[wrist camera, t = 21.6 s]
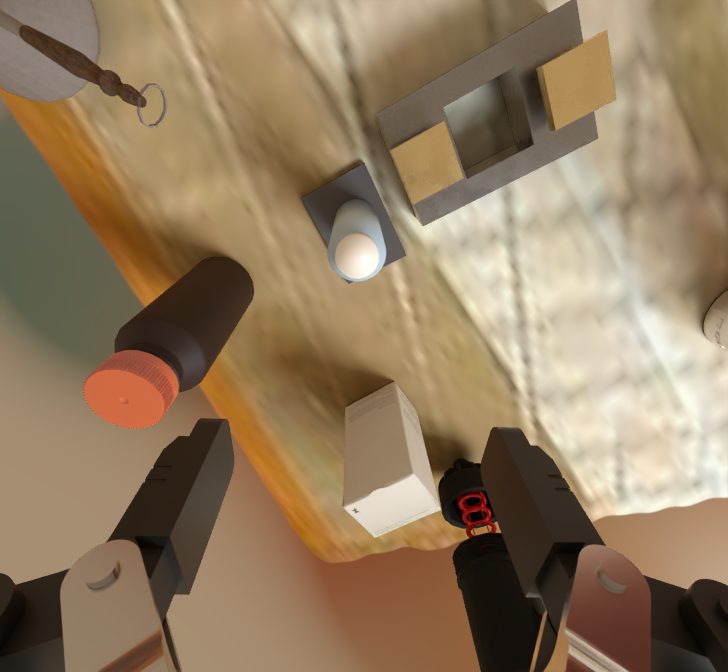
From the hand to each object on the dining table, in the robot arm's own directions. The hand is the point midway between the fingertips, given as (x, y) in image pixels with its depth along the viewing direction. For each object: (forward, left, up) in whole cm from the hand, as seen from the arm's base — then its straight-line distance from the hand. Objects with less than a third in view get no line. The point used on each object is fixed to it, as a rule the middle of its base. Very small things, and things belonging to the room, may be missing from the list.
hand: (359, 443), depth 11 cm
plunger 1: (-8, -3, -28) cm, 30 cm away
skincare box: (+8, +23, -30) cm, 39 cm away
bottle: (+16, -1, -30) cm, 34 cm away
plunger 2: (-20, -3, -28) cm, 35 cm away
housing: (-14, -3, -30) cm, 33 cm away
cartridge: (0, 0, -30) cm, 30 cm away
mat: (0, 0, -30) cm, 30 cm away
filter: (+1, +38, -30) cm, 49 cm away
